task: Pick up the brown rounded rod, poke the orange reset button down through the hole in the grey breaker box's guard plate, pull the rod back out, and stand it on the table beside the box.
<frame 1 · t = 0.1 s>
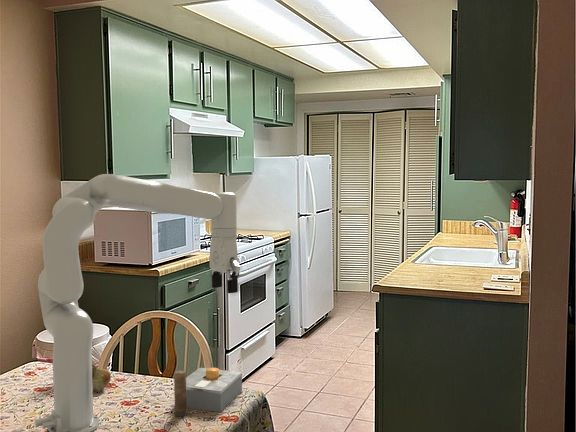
hand: (224, 289, 176), 31 cm above the table, tool pointing down, fingers open, 9 cm apart
reset button: (212, 376, 174), point 6 cm above the table, slide at 0.0 cm
brown rounded rod: (180, 415, 161), on the table
beverage cup: (82, 378, 190), on the table
breaker box: (209, 398, 172), on the table
onion: (97, 390, 179), on the table
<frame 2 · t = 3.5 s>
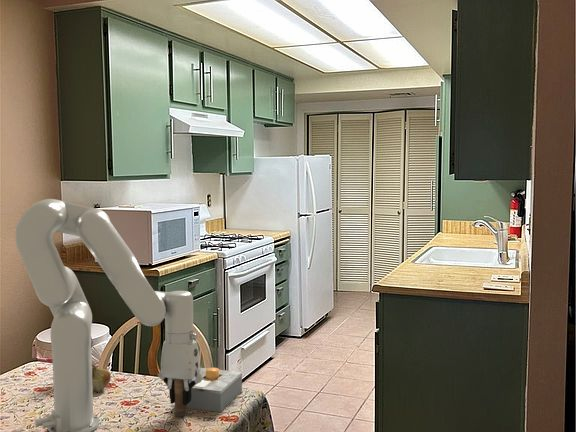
hand: (180, 402, 160), 4 cm above the table, tool pointing down, fingers closed on brown rounded rod, 3 cm apart
brown rounded rod: (180, 415, 161), on the table, touching gripper
everything else where it was.
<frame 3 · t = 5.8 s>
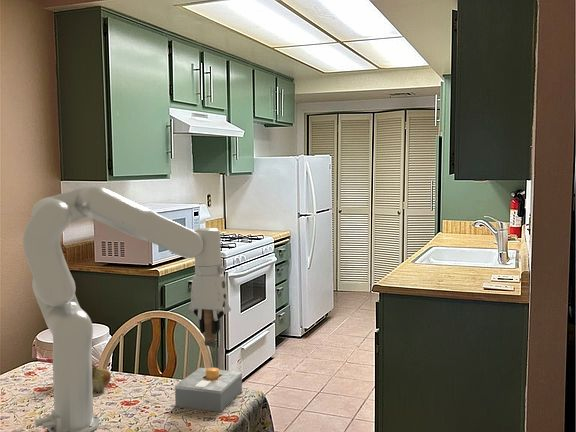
hand: (209, 331, 171), 20 cm above the table, tool pointing down, fingers closed on brown rounded rod, 3 cm apart
brown rounded rod: (210, 344, 172), point 16 cm above the table, touching gripper
everything else where it was.
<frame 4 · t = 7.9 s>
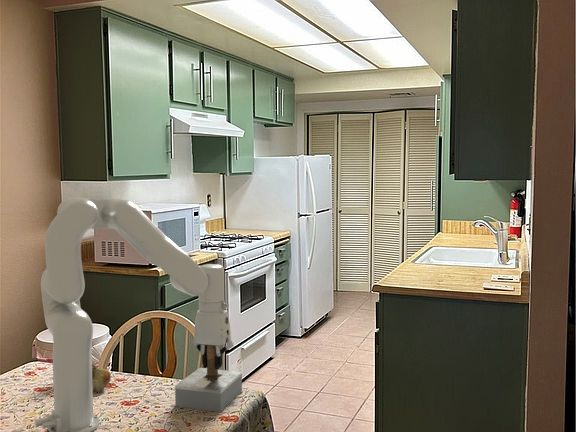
hand: (212, 366, 174), 9 cm above the table, tool pointing down, fingers closed on brown rounded rod, 3 cm apart
reset button: (212, 385, 174), point 3 cm above the table, slide at 2.8 cm, touching brown rounded rod
brown rounded rod: (212, 379, 174), point 5 cm above the table, touching gripper, reset button
everything else where it was.
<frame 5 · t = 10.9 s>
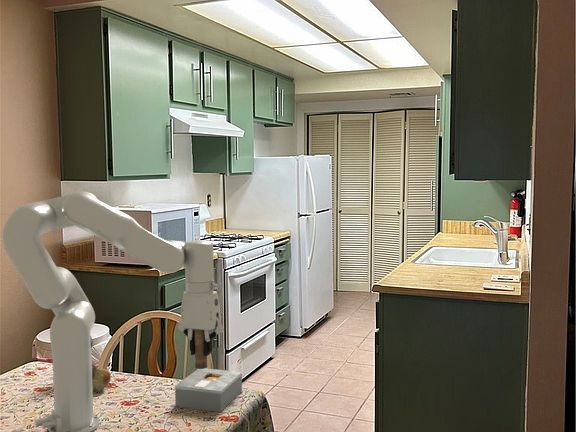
hand: (201, 353, 158), 18 cm above the table, tool pointing down, fingers closed on brown rounded rod, 3 cm apart
reset button: (212, 385, 174), point 3 cm above the table, slide at 2.8 cm
brown rounded rod: (201, 366, 158), point 14 cm above the table, touching gripper
everything else where it was.
when the fingers open (5 cm above the table, at t = 13.3 s): brown rounded rod moves 1 cm, on the table.
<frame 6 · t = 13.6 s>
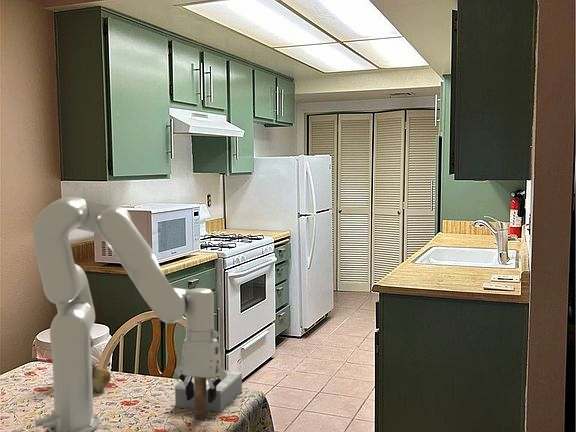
hand: (201, 399, 159), 5 cm above the table, tool pointing down, fingers open, 5 cm apart
brown rounded rod: (200, 417, 159), on the table
everything else where it was.
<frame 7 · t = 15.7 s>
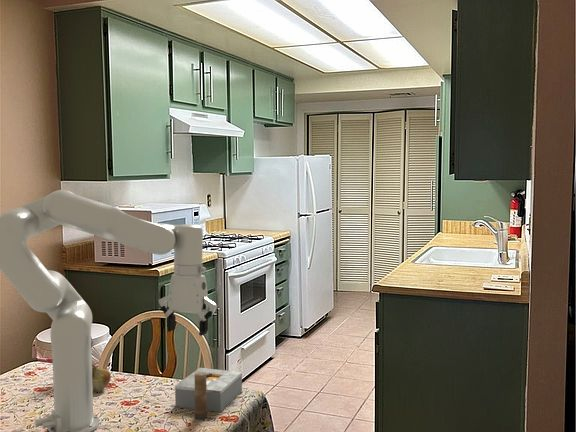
hand: (187, 332, 159), 23 cm above the table, tool pointing down, fingers open, 9 cm apart
nothing on the table moved.
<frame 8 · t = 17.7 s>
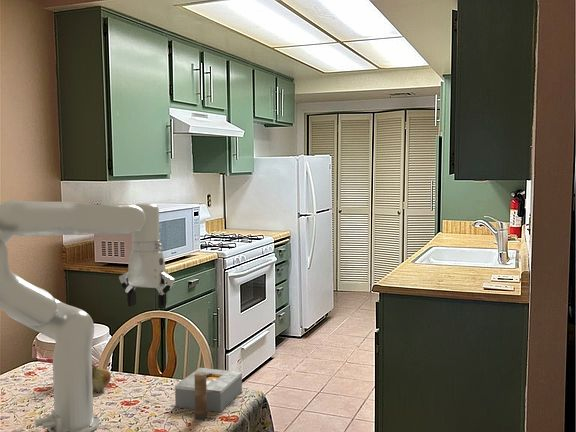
hand: (147, 306, 167), 28 cm above the table, tool pointing down, fingers open, 9 cm apart
nothing on the table moved.
at the end: reset button slide at 2.8 cm; brown rounded rod 0.1 cm from the target spot, on the table; brown rounded rod tilted 0° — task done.
